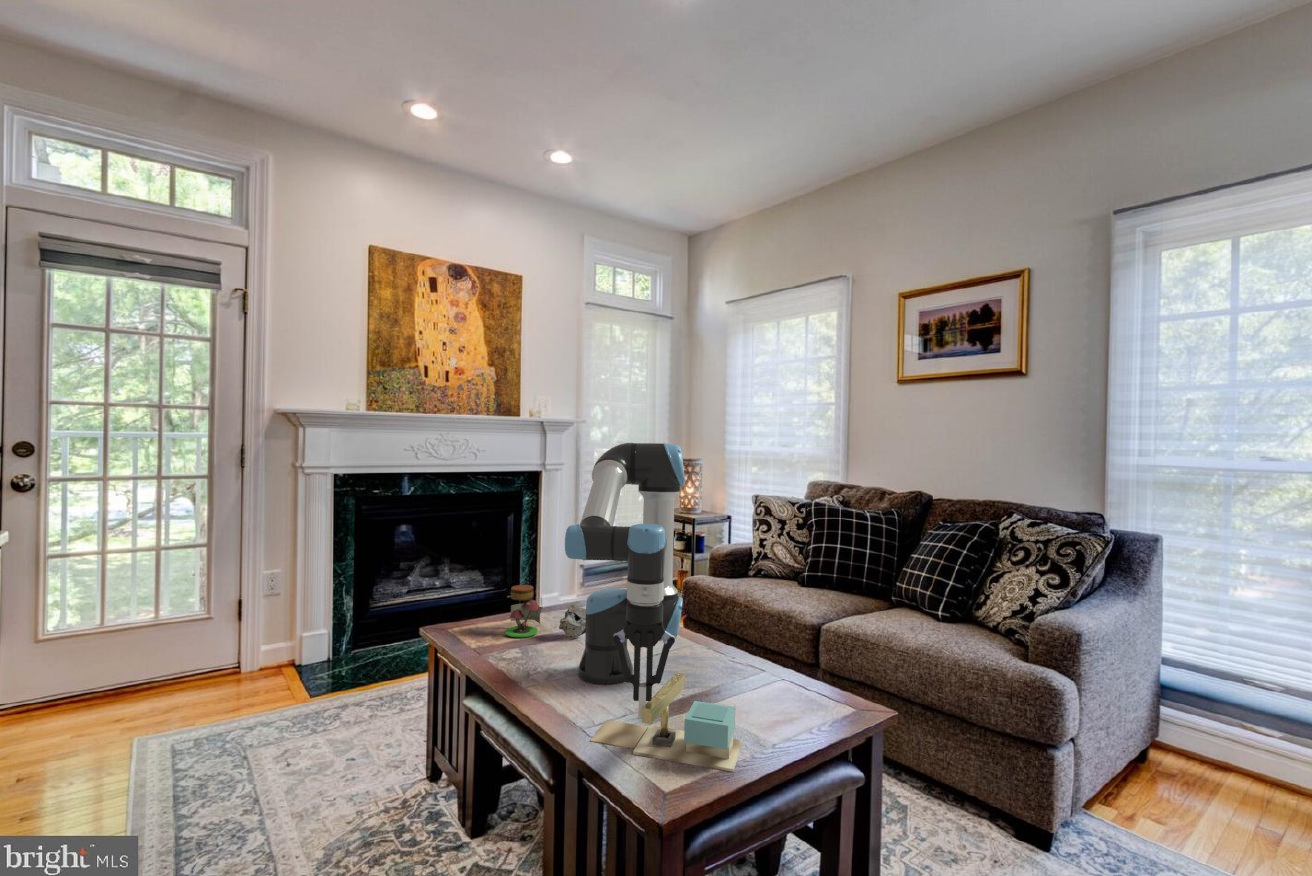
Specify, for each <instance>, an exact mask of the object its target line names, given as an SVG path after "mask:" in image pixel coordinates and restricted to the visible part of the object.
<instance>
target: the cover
mask: <svg viewBox="0 0 1312 876" xmlns="http://www.w3.org/2000/svg"><path fill="white" fill-rule="evenodd" d="M683 726H684V730H683V731H684V742H686V743H692V744H697V745H703V746H709V747H715V748H721V749H727V750H728V747H729V744H730V741H731V739H732V736H733V737H734V733H735V730H736V706H731V705H725V704H719V703H718V704H717V703H710V702H706V701H705V702H704V701H699V700H698V701H697V700H694V701H693V703H692V704H691V707H690V708H689V711H688V712H687V714H686V716H685V718H684V725H683Z"/></svg>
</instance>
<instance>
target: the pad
mask: <svg viewBox="0 0 1312 876" xmlns="http://www.w3.org/2000/svg"><path fill="white" fill-rule="evenodd" d="M648 728H649V726H646V725H641V724H636V723H635V724H634V723H629V722H628V723H627V722H622V721H616V720H610V719H606V720H605V722H604V723H603V724H602V725H601V727H599V729H598V730H597V732H596V733H595V734H594V735H593V736H592V737H591V738H590V739H589V742H591V743H592V742H593V743H598V744H603V745H608V746H615V747H620V748H625V749H631V750H634V749H635V748H636V746H637V745H638V743H639V742H640V740H641V738H642V737H643V735H644V734H645V732H646V731H647V729H648Z"/></svg>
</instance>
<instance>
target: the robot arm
mask: <svg viewBox="0 0 1312 876" xmlns="http://www.w3.org/2000/svg"><path fill="white" fill-rule="evenodd" d="M682 451H683V450H682V448H681V447H680V445H678V444H675V443H666V442H663V443H661V442H660V443H659V442H658V443H656V442H655V443H651V442H646V443H645V442H639V443H638V442H636V443H635V442H625V443H620V444H617V445H615V446H613V447H612V448H610V449H608V450H606V451H605V452H604V453H602V455H601V456H599V458H598V459H597V460H596V462H595V463H594V465H593V468H592V470H591V479H592V485H591V487H590V490H589V493H588V496H587V497H588V498H587V500H586V504H585V506H584V509H583V513H582V516H581V519H580V523H578V524H573V525H572V524H571V525H569V526H568V527H567V528H566V530H565V536H564V551H565V555H566V557H567V558H568V559H571V560H582V561H614V562H627V577H626V578H627V579H626V589H625V588H620V587H619V588H618V587H617V588H606V589H600V590H597V591H594V592H592V593H591V594H590V595H589V596H588V597H587V598H586V603H585V604H586V605H585V606H586V607H585V609H586V611H585V614H586V633H584V634H585V636H584V637H585V641H584V642H585V643H584V650H583V652H582V656H581V659H580V662H579V664H578V671H577V675H578V678H579V680H580V681H583V682H584V683H586V684H587V683H588V684H590V685H595V686H612V685H613V686H615V685H619V684H623V683H627V684H631V685H632V686H633V690H632V691H633V692H632V693H633V694H632V699H633V701H634V702H638V710H637V711H638V713H637V714H638V715H637V716H638V717H637V718H638V720H642V707H643V706H644V705H646V703H647V702H648V701H651V699H652V697H653V686H654V685H655V684H658V685H659V684H661V682H662V678H663V675H664V671H665V667H666V664H667V659H668V656H669V653H670V649H672V646H673V645H674V644H675V642H676V639H677V637H678V635H679V629H680V626H681V625H680V624H681V618H682V610H683V609H682V608H683V601H684V599H683V597H681V596H679V594H678V593H679V591H678V589H677V588H676V587H675V585H674V584H673V581H674V580H673V579H674V577H673V576H674V575H673V572H674V535H675V534H674V530H675V527H674V526H675V525H674V523H675V499H676V497H677V496H678V495H679V494H680V493H681V487H684V486H685V485H686V479H685V469H684V461H683V452H682ZM625 485H631V486H633V485H635V486H638V490H637V491H638V493H639V494H640V495H641V496H642V497H643V507H642V510H643V511H642V516H643V519H642V523H637V524H633V525H631V526H618V525H614V524H615V520H616V514H617V509H618V505H619V501H620V495H621V491H622V489H623V488H624V487H625ZM628 641H629V642H630V644H631V645H632V646H633V647H634V648H633V664H632V660H631V655H630V653H629V649H628ZM658 642H663V646H662V650H661V654H660V657H659V660H658V664H657V666H656V667H657V668H656V671H655V674H654V675H653V666H654V665H653V664H654V661H653V659H654V647H655V646H656V645H657V644H658ZM642 648H644V649H646V664H645V666H646V671H645V681H641V657H642V656H641V649H642Z"/></svg>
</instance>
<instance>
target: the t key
mask: <svg viewBox="0 0 1312 876" xmlns="http://www.w3.org/2000/svg"><path fill="white" fill-rule="evenodd" d="M685 688H686V673H684V672H683V673H682V672H675V674H673V675H672V677H671V678H669V680H668V681H667V682H666V683H665V684H664V685H663V686H662V687H661V688H660V689H658V691H657V692H655V694H654V695H652V699H651V701H646V705H644V706H643V707H642V719H641V723H643V724H649V725H653V724H654V722H655V721H656V719H657V718H659V716H660V727H661V736H660V737H662V738H668V728H669V706H670V704H671V703H672V702H673V701H674V700H675V698H677V696H678V695H679V694H680V693H681V692H682V691H683V690H684V689H685Z"/></svg>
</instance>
